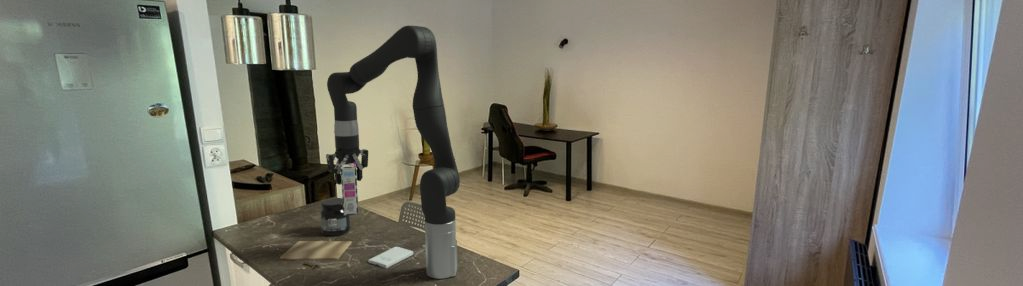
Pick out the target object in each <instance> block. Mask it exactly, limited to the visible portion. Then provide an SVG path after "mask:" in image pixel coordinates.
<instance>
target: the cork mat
mask: <svg viewBox="0 0 1023 286" xmlns="http://www.w3.org/2000/svg"><path fill="white" fill-rule="evenodd" d="M352 243H353V242H352V241H350V240H349V241H347V240H346V241H345V240H344V241H343V240H340V241H338V240H337V241H335V240H334V241H332V240H331V241H329V240H328V241H327V240H323V241H322V240H316V241H315V240H305V241H304V240H299V241H298V240H297V242H296V243H294V244H293V245H292V246H291V247H290V248H289V249H288V250H286V251H285V253H283V254H282V255H281V256H280V257H279V260H306V261H307V260H310V261H311V260H314V261H315V260H324V261H326V260H332V261H333V260H334V261H335V260H337V261H338V260H339V259H340V257H341V256H342V255H343V254H344V252H346V250H348V248H349V247H350V245H352Z"/></svg>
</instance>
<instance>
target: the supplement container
mask: <svg viewBox="0 0 1023 286" xmlns="http://www.w3.org/2000/svg"><path fill="white" fill-rule="evenodd" d="M320 208H321V209H320V211H319V214H320V226H321V227H320V228H321V233H322V234H323V235H325V236H329V237H336V236H341V235H345V234H346V233H348V232H349V231H350V230H351V215H347V216H344V212H343V197H333V198H327V199H324V200H322V201H321V202H320Z"/></svg>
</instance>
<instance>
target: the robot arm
mask: <svg viewBox="0 0 1023 286" xmlns="http://www.w3.org/2000/svg"><path fill="white" fill-rule="evenodd" d="M437 49H438V48H437V41H436V37H435V35H434V33H433V31H432V30H431V29H429V28H428V27H426V26H420V25H405V26H402V27H401V28H400V29H398V30H397V31H395V33H393V35H391V36H390V37H389V38H388V39H387V40H386V41H385V42H384V43H383V44H382V45H380V46H379V47H378V48H377V49H375V50H374V51H373V52H371V53H369V54H368V55H367V56H365V57H363V58H362V59H359V60H358V61H357V62H355V63H353V64H352V66H350V68H349V71H341V72H339V71H338V72H333V73H331V74H330V75H329V76H328V78H327V81H326V87H327V91H328V94H329V97H330V100H331V104H332V106H333V113H334V114H333V116H334V117H333V118H334V123H333V124H334V125H333V128H334V129H333V132H334V133H333V134H334V147H335V151H334V153H331V154H329V153H327V154H325V158H326V159H325V160H326V164H327V170H328V172H329V173H332V174H334V182H335V183H336V184H337V185H338V186H339V185H342V181H341V166H343V165H345V164H349V163H354V162H355V164H356V172H357V182H360V181H362V179H363V177H364V176H363V169H365V168H368V165H369V150H368V149H364V148H363V149H360V135H359V132H360V131H359V122H358V111H357V110H358V107H357V104H356V102H354V101H350V100H348V97H347V95H349V94H354V93H358V92H359V91H360V90H362V89H363V88H364V87H365V86H366V85H367V84H368V83H369V82H371V81H374V80H375V79H377V78H379V77H380V76H381V75H383V74H384V73H385V72H386V70H387V69H388V68H389V67H390V65H392V64H394V63H395V62H397V61H400V60H403V59H407V58H408V59H414V60H415V65H416V71H417V73H416V74H417V80H416V85H415V88H414V93H413V97H412V111H413V115H414V116H413V118H414V122H415V126H416V129H417V131H418V132H419V134H420V135H421V137H422V138H423V139H424V141H425V142H426V144H427V145H428V147H429V149H430V150H431V153H432V158H433V162H434V168H432V169H428V170H426V171H424V173H422V174H421V178H420V181H419V191H420V192H419V193H420V201H421V202H420V203H421V211H422V213H423V215H424V239H425V269H426V272H425V273H426V275H427V276H428V277H429V278H432V279H436V280H437V279H448V278H451V277H456V275H457V271H458V240H457V237H456V234H457V232H456V230H457V229H456V211H455V210H456V209H454V208H453V207H451V206H447V199H446V198H447V197H450V196H451V195H454V194H455V193H456V192H457V191H458V190H459V188H460V186H461V185H460V183H461V181H460V174H459V170H458V167H457V163H456V160H455V159H456V158H455V155H454V151H453V147H452V143H451V138H450V132H449V128H448V123H447V115H446V109H445V108H446V107H445V103H444V98H443V94H442V88H441V81H440V75H439V73H440V72H439V65H438V64H439V62H438V50H437ZM359 156H361V160H360V159H359ZM336 159H337V160H336ZM335 160H336V163H335V162H334V161H335Z"/></svg>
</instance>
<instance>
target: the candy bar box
mask: <svg viewBox="0 0 1023 286" xmlns="http://www.w3.org/2000/svg"><path fill="white" fill-rule="evenodd" d="M356 169H357V168H356V164H355V162H354V163H349V164H345V165H343V166H341V172H340V174H341V183H342V184H341V194H342V197H341V198H343V212H344V216H347V215H350V216H356V215H357V216H358V215H359V194H358V193H359V190H358V180H357V172H356Z"/></svg>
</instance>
